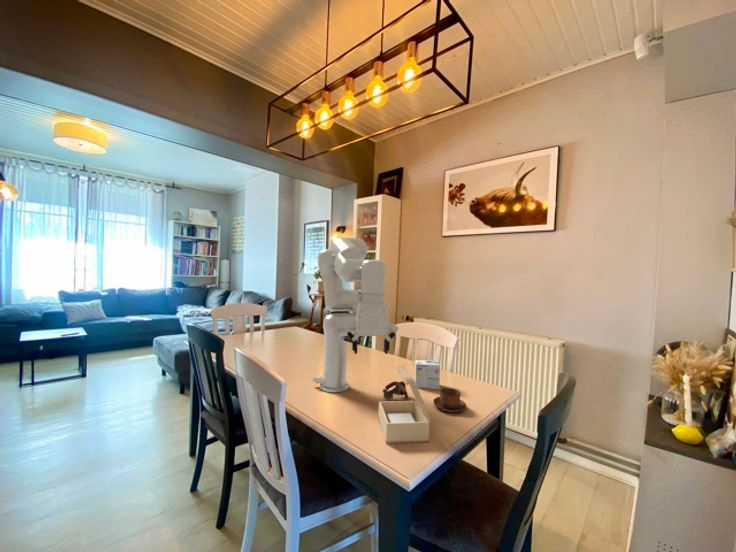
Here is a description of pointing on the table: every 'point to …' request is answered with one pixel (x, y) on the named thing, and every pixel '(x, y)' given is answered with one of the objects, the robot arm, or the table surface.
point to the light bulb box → (427, 374)
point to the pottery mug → (396, 390)
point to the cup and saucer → (449, 400)
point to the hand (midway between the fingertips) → (370, 352)
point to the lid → (412, 387)
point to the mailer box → (403, 422)
